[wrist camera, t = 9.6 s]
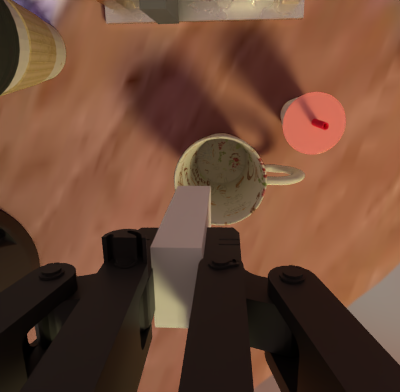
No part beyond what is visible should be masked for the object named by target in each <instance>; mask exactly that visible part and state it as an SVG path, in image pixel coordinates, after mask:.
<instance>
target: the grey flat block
mask: <svg viewBox="0 0 400 392" xmlns="http://www.w3.org/2000/svg"><path fill="white" fill-rule="evenodd" d="M139 6H140V10H141V11H142V12H144V13H145V14H146V15H147V16H149V17H150V18H151V19H153V20H154V21H155V22H157V23H158V24H177V23H179V8H178V0H139Z"/></svg>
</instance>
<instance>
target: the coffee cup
mask: <svg viewBox="0 0 400 392" xmlns="http://www.w3.org/2000/svg"><path fill="white" fill-rule="evenodd" d="M65 60H66V48H65V44H64V42H63V39H62V37H61V36H60V34H59V33H58V31H57V30H56V29H55V28H54V27H52V26H51V25H50V24H48V23H46V22H44V21H43V20H42V19H40V18H39V17H38V16H36V15H35V14H33V13H32V12H30V11H29V10H27V9H25V8H24V7H22V6H20V5H19V4H17V3H15V2H14V1H12V0H0V96H2V95H5V94H9V93H12V92H15V91H18V90H22V89H25V88H28V87H32V86H35V85H37V84H40V83H41V82H43V81H46V80H49V79H52V78H54V77H55V76H57V75H58V74H59V73H60V72H61V70H62V68H63V67H64V64H65Z"/></svg>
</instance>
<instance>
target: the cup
mask: <svg viewBox="0 0 400 392" xmlns="http://www.w3.org/2000/svg"><path fill="white" fill-rule="evenodd" d="M280 117H281V122H282V125H283V133H284V136H285V138H286V140H287V142H288V143H289V144H290V146H291V147H293V148H294V149H295V150H297V151H299V152H301V153H304V154H319V153H323V152H325V151H327V150H329V149H331V148H332V147H333V146H334V145H336V144H337V142H338V141H339V140H340V138H341V137H342V135H343V133H344V130H345V125H346V116H345V112H344V109H343V107H342V105H341V104H340V102H339V101H338V100H337V99H336V98H334V97H333V96H331V95H329V94H327V93H323V92H310V93H307V94H304V95H302V96H300V97H297V98H294V99H291V100H289V101H288V102H286V103H285V104H284V106H283V107H282V110H281V114H280Z"/></svg>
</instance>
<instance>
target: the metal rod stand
mask: <svg viewBox="0 0 400 392" xmlns="http://www.w3.org/2000/svg"><path fill="white" fill-rule="evenodd" d="M96 1H98V2H100V3H101V4H103V5H105V15H106V23H107V24H133V23H157V22H155V21H154V20H153V19H151V18H150V17H149V16H147V15H146V14H145V13H144V12H142V11H141V10H140V6H139V0H96ZM178 8H179V22H209V21H247V20H285V19H302V18H303V14H304V0H178Z"/></svg>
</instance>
